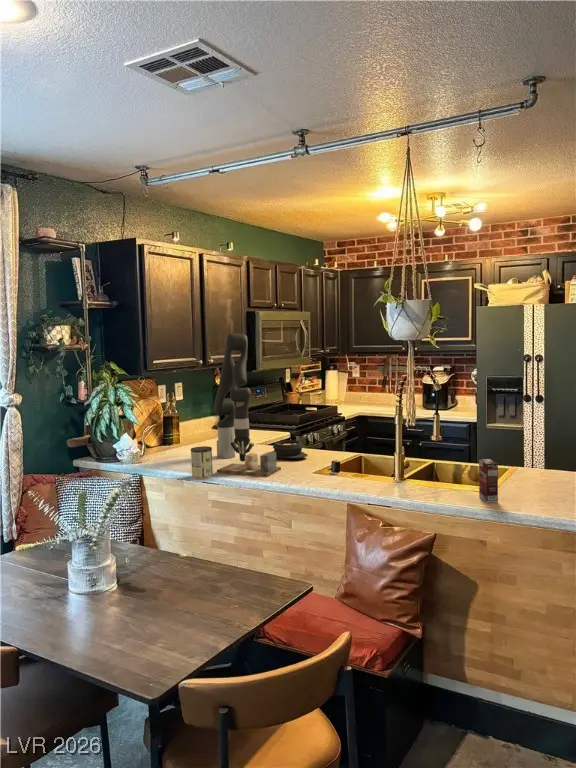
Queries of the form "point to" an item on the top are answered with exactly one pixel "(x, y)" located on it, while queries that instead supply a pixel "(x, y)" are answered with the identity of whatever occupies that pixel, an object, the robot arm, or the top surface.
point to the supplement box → (488, 480)
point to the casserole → (288, 449)
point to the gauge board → (263, 469)
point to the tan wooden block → (251, 461)
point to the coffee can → (201, 462)
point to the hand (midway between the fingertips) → (242, 461)
